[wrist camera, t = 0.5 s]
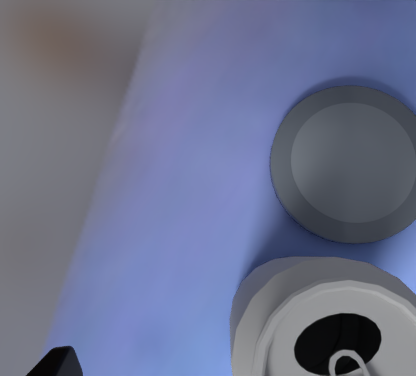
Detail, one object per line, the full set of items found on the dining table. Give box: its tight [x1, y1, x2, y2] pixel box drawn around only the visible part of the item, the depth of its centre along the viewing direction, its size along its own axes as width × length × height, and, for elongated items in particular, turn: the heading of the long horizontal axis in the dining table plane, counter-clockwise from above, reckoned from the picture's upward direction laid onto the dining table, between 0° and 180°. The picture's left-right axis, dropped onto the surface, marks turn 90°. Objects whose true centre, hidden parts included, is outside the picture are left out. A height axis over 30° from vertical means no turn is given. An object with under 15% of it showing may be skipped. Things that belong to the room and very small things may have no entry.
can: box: [230, 256, 416, 376], centre depth 18 cm, size 8×8×12 cm
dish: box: [270, 86, 416, 244], centre depth 24 cm, size 10×10×1 cm
